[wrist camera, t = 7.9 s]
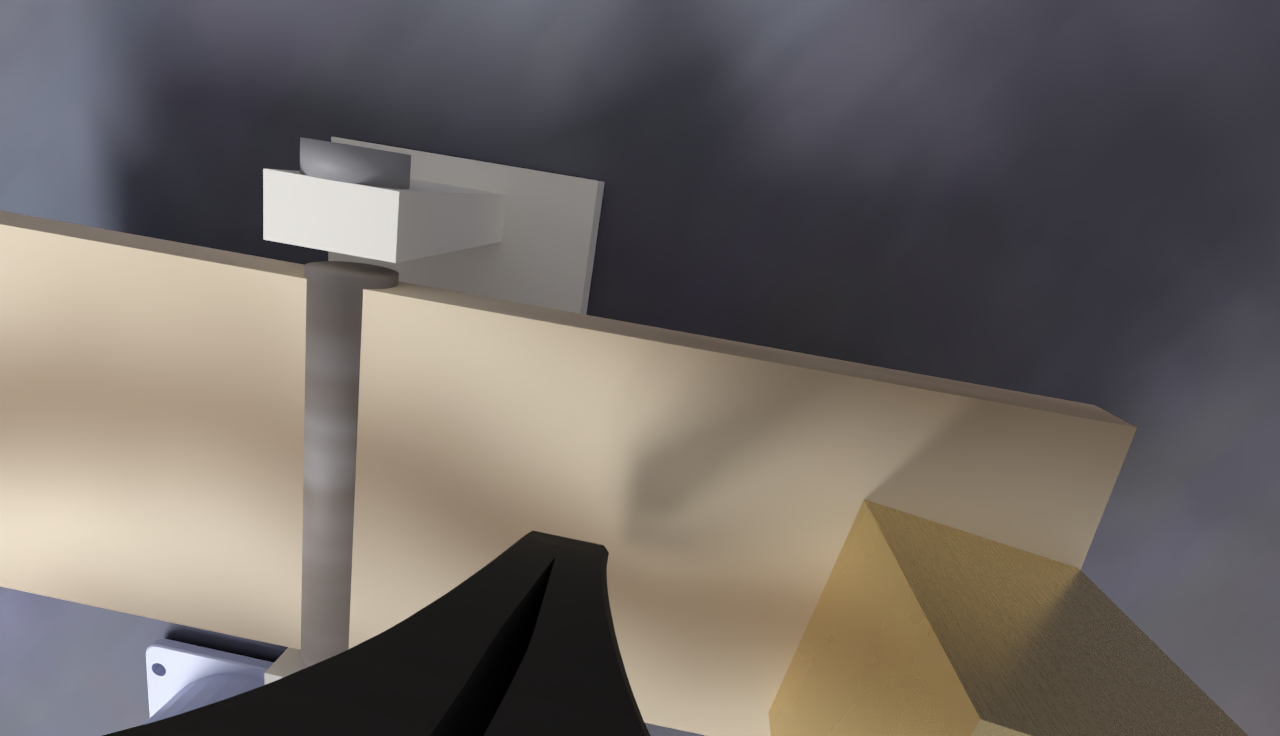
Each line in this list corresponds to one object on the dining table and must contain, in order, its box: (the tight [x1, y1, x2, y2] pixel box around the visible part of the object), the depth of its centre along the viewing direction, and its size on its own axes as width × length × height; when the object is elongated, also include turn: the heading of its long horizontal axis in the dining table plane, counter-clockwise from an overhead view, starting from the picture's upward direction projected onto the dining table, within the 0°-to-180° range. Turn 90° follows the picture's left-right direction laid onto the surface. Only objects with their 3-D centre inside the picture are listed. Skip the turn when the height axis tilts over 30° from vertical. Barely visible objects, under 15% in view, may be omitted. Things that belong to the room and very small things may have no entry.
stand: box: [263, 136, 605, 685], centre depth 15 cm, size 13×7×7 cm, turn 171°
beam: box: [0, 211, 1137, 736], centre depth 14 cm, size 8×28×4 cm, turn 81°
